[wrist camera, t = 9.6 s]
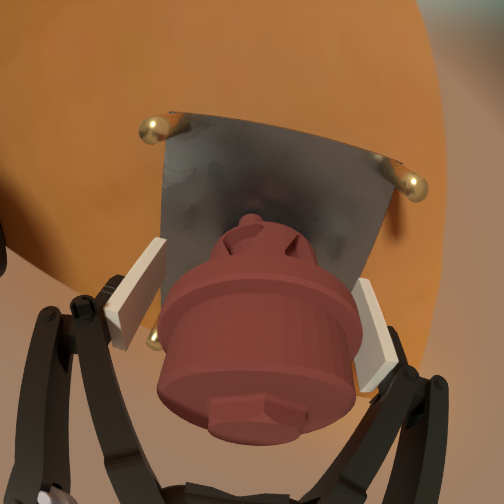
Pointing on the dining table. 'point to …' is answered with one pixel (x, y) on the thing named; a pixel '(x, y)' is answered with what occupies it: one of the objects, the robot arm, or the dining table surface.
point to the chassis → (269, 190)
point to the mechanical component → (259, 339)
